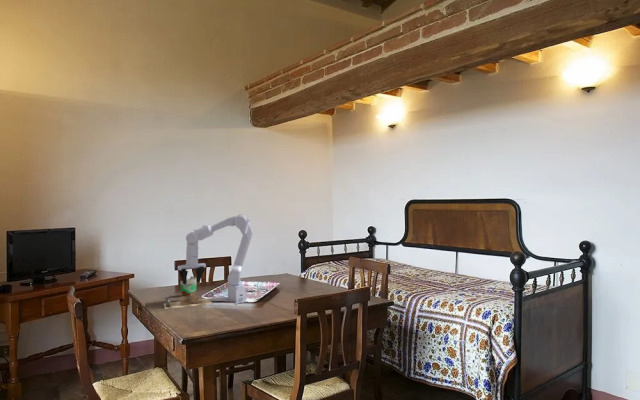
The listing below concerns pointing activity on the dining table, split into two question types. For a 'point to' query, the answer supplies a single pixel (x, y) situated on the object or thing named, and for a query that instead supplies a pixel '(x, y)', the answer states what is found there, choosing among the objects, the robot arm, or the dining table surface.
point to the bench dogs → (167, 302)
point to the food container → (188, 287)
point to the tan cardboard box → (189, 300)
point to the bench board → (177, 305)
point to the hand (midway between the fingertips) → (191, 283)
